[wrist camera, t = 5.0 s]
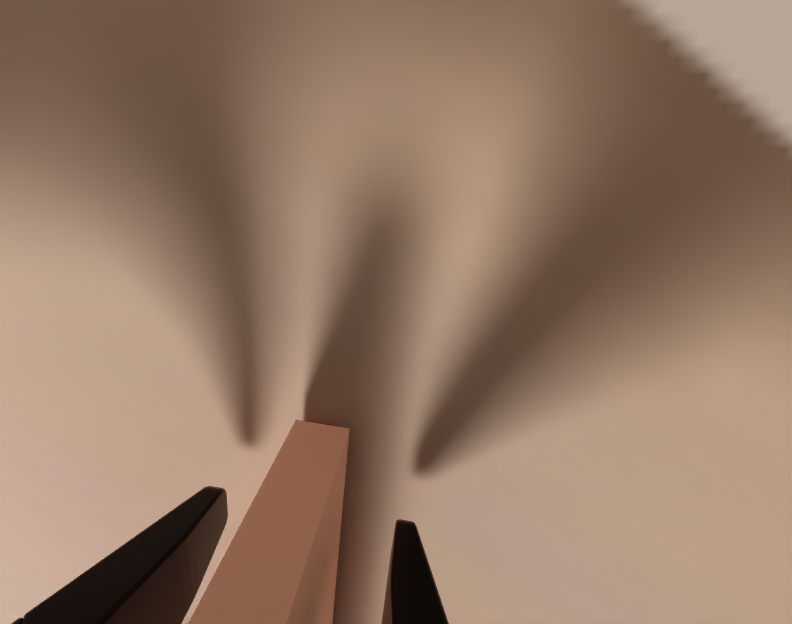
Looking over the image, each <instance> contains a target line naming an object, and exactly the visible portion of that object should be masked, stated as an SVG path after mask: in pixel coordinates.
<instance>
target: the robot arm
mask: <svg viewBox="0 0 792 624" xmlns="http://www.w3.org/2000/svg"><path fill="white" fill-rule="evenodd" d="M227 517H228V510H227V495H226V491H225V489H223V488H218V487H212V486H208V487H205V488H203V489H202V490H200V491H199V492H197V493H196V494H195V495H193V496H192V497H190V498H189V499H188V500H186V501H185V502H183V503H182V504H180V505H179V506H178V507H176V508H175V509H173V510H172V511H171V512H169V513H168V514H166V515H165V516H163V517H162V518H161V519H159V520H158V521H156V522H155V523H154V524H152V525H151V526H149V527H148V528H146V529H145V530H144V531H142V532H141V533H139V534H138V535H137V536H135V537H134V538H132V539H131V540H129V541H128V542H127V543H125V544H124V545H122V546H121V547H120V548H118V549H117V550H115V551H114V552H112V553H111V554H110V555H108V556H107V557H105V558H104V559H103V560H101V561H100V562H98V563H97V564H95V565H94V566H93V567H91V568H90V569H88V570H87V571H86V572H84V573H83V574H81V575H80V576H78V577H77V578H76V579H74V580H73V581H71V582H70V583H69V584H67V585H66V586H64V587H63V588H62V589H60V590H59V591H57V592H56V593H54V594H53V595H52V596H50V597H49V598H47V599H46V600H45V601H43V602H42V603H40V604H39V605H37V606H36V607H35V608H33V609H32V610H30V611H29V612H28V613H26V614H25V616H24V618H19V619H17V620H16V621H14V622H13V623H12V624H181V623H182V621H183V619H184V617H185V615H186V614H187V612H188V610H189V608H190V606H191V604H192V602H193V600H194V598H195V596H196V593H197V591H198V589H199V587H200V584H201V582H202V580H203V577H204V575H205V572H206V570H207V568H208V565H209V563H210V561H211V558H212V556H213V554H214V551H215V549H216V546H217V544H218V542H219V539H220V537H221V535H222V532H223V530H224V528H225V525H226V522H227ZM382 624H449V623H448V620H447V617H446V614H445V611H444V608H443V605H442V602H441V599H440V596H439V593H438V590H437V587H436V584H435V581H434V578H433V575H432V572H431V569H430V566H429V563H428V560H427V557H426V554H425V551H424V548H423V545H422V542H421V539H420V536H419V533H418V530H417V527H416V525H415V523H414V522H412V521H406V520H397V521H396V525H395V531H394V537H393V543H392V550H391V557H390V564H389V572H388V580H387V587H386V595H385V602H384V610H383V617H382Z"/></svg>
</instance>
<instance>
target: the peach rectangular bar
mask: <svg viewBox="0 0 792 624" xmlns="http://www.w3.org/2000/svg"><path fill="white" fill-rule="evenodd" d="M349 430H350V429H349V428H343V427H337V426H331V425H325V424H319V423H312V422H306V421H300V420H296V421H295V423H294V425H293V426H292V428H291V430H290V432H289V434H288V436H287V438H286V440H285V442H284V443H283V445H282V447H281V449H280V451H279V453H278V455H277V457H276V459H275V461H274V462H273V464H272V466H271V468H270V470H269V472H268V474H267V476H266V478H265V479H264V481H263V483H262V485H261V487H260V489H259V491H258V493H257V495H256V496H255V498H254V500H253V502H252V504H251V506H250V508H249V510H248V512H247V513H246V515H245V517H244V519H243V521H242V523H241V525H240V527H239V529H238V530H237V532H236V534H235V536H234V538H233V540H232V542H231V544H230V546H229V547H228V549H227V551H226V553H225V555H224V557H223V559H222V561H221V563H220V564H219V566H218V568H217V570H216V572H215V574H214V576H213V578H212V580H211V582H210V583H209V585H208V587H207V589H206V591H205V593H204V595H203V597H202V599H201V600H200V602H199V604H198V606H197V608H196V610H195V612H194V614H193V616H192V617H191V619H190V621H189V623H188V624H332V623H333V611H334V600H335V589H336V577H337V566H338V555H339V543H340V532H341V521H342V509H343V498H344V487H345V475H346V464H347V453H348V442H349Z"/></svg>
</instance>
